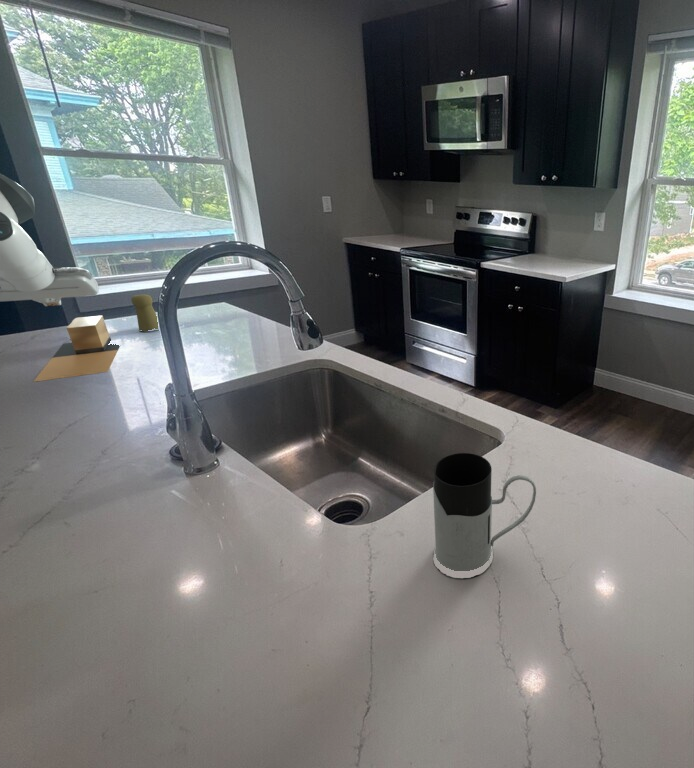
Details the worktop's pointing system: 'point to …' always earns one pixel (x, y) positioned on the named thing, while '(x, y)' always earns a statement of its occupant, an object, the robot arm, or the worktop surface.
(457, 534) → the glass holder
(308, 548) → the worktop surface
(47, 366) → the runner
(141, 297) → the pepper shaker
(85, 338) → the eraser block
